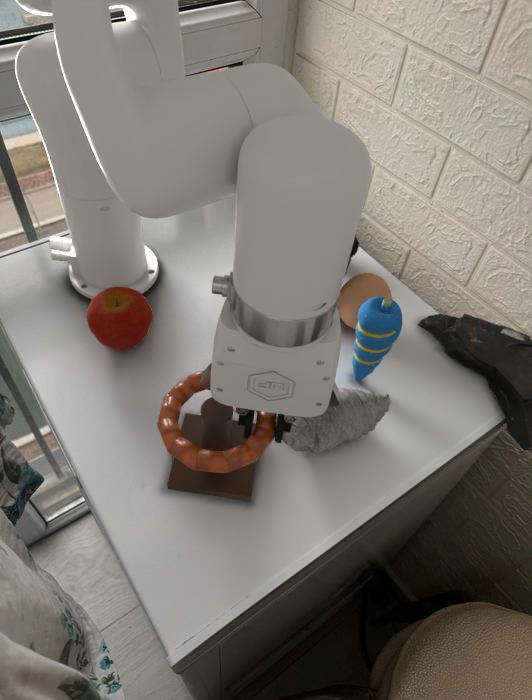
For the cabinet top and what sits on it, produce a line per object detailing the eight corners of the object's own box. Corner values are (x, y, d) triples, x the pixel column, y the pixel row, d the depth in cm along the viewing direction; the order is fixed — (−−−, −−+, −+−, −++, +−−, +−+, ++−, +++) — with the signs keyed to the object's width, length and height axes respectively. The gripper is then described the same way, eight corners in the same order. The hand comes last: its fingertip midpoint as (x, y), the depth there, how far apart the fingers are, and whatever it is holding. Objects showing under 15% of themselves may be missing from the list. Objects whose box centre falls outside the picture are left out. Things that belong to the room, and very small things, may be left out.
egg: (360, 297, 75) (375, 253, 69) (393, 329, 72) (412, 286, 65) (321, 315, 72) (332, 270, 66) (354, 350, 69) (369, 306, 62)
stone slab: (390, 342, 71) (401, 314, 68) (462, 311, 79) (475, 286, 76) (525, 459, 59) (547, 432, 55) (594, 408, 67) (616, 383, 64)
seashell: (408, 423, 59) (397, 384, 53) (307, 481, 59) (284, 448, 53) (380, 387, 63) (367, 347, 57) (286, 441, 63) (263, 406, 57)
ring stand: (167, 489, 54) (159, 443, 46) (185, 418, 60) (181, 366, 52) (250, 501, 54) (256, 458, 46) (260, 429, 60) (268, 379, 52)
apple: (166, 329, 68) (161, 288, 62) (132, 371, 64) (124, 330, 57) (117, 309, 70) (108, 266, 64) (81, 348, 65) (68, 306, 59)
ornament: (336, 391, 64) (363, 310, 53) (339, 360, 67) (365, 277, 56) (376, 398, 64) (413, 319, 52) (377, 367, 67) (412, 285, 56)
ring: (148, 469, 47) (145, 459, 46) (172, 371, 55) (170, 360, 53) (271, 481, 47) (272, 472, 46) (279, 381, 55) (280, 370, 53)
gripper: (161, 321, 34) (176, 449, 49) (396, 355, 34) (342, 474, 48) (185, 250, 39) (192, 386, 53) (392, 280, 39) (344, 408, 53)
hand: (264, 427), depth 51 cm, fingers closed on ring, 2 cm apart
